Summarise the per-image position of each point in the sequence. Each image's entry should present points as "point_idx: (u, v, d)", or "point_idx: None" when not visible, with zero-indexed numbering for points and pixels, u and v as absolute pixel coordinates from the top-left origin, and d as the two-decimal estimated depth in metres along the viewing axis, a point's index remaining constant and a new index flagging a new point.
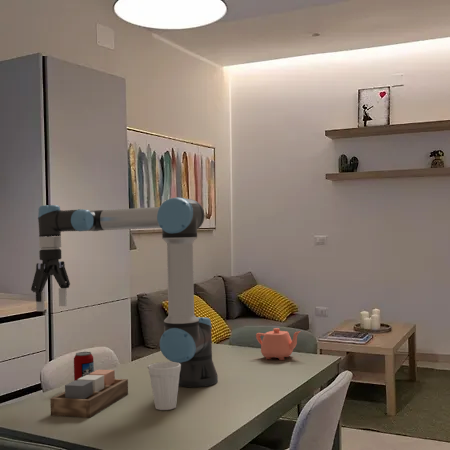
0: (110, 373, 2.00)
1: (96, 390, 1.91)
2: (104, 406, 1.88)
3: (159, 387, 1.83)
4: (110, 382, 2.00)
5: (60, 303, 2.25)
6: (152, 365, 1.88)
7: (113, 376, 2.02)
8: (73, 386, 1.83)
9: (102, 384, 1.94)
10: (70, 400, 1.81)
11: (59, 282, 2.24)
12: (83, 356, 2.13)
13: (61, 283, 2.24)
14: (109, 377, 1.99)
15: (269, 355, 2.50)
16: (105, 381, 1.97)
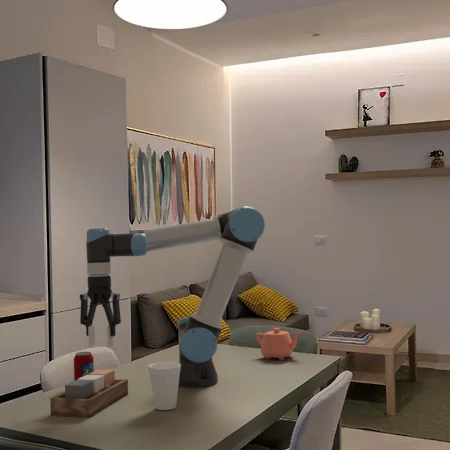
0: (110, 373, 2.00)
1: (96, 390, 1.91)
2: (104, 406, 1.88)
3: (159, 387, 1.83)
4: (110, 382, 2.00)
5: None
6: (152, 365, 1.88)
7: (113, 376, 2.02)
8: (73, 386, 1.83)
9: (102, 384, 1.94)
10: (70, 400, 1.81)
11: None
12: (83, 356, 2.13)
13: None
14: (109, 377, 1.99)
15: (269, 355, 2.50)
16: (105, 381, 1.97)
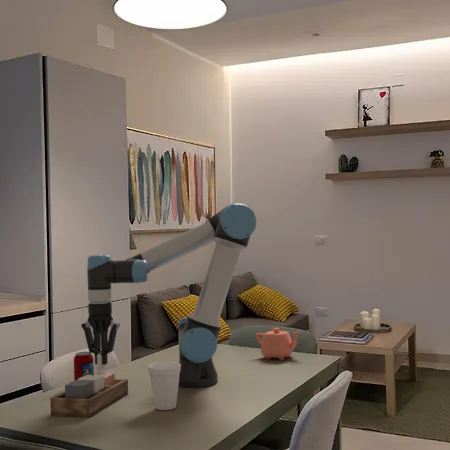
0: (110, 376, 2.00)
1: (96, 390, 1.91)
2: (104, 406, 1.88)
3: (159, 387, 1.83)
4: (110, 385, 2.00)
5: None
6: (152, 365, 1.88)
7: (113, 379, 2.02)
8: (73, 386, 1.83)
9: (102, 384, 1.94)
10: (70, 400, 1.81)
11: None
12: (83, 356, 2.13)
13: None
14: (109, 381, 1.99)
15: (269, 355, 2.50)
16: (105, 384, 1.97)
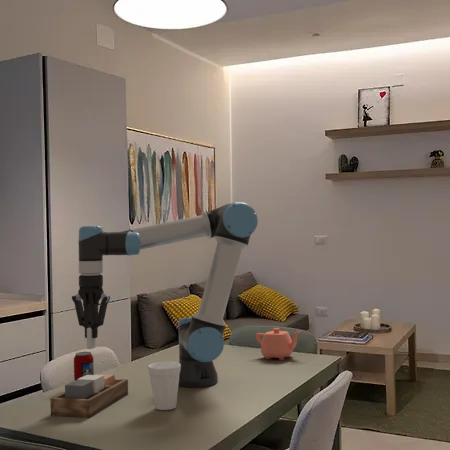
0: (110, 378, 2.00)
1: (96, 390, 1.91)
2: (104, 406, 1.88)
3: (159, 387, 1.83)
4: None
5: None
6: (152, 365, 1.88)
7: (113, 381, 2.02)
8: (73, 386, 1.83)
9: (102, 384, 1.94)
10: (70, 400, 1.81)
11: None
12: (83, 356, 2.13)
13: None
14: (109, 382, 1.99)
15: (269, 355, 2.50)
16: None
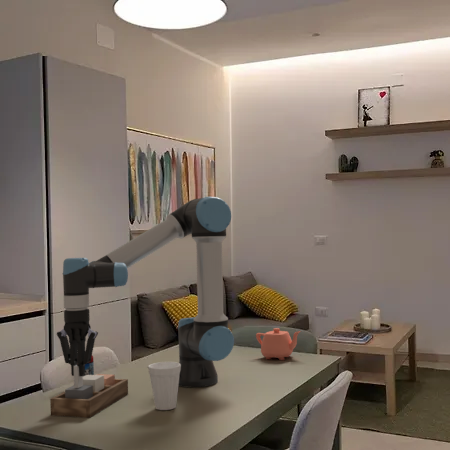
0: (110, 378, 2.00)
1: (96, 390, 1.91)
2: (104, 406, 1.88)
3: (159, 387, 1.83)
4: None
5: None
6: (152, 365, 1.88)
7: (113, 381, 2.02)
8: (73, 390, 1.83)
9: (102, 384, 1.94)
10: (70, 400, 1.81)
11: None
12: None
13: None
14: (109, 382, 1.99)
15: (269, 355, 2.50)
16: None
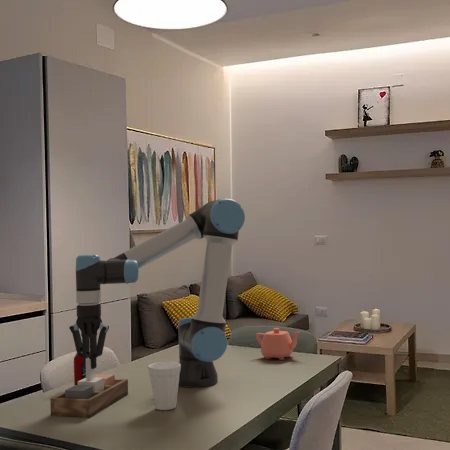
0: (110, 378, 2.00)
1: None
2: (104, 406, 1.88)
3: (159, 387, 1.83)
4: None
5: None
6: (152, 365, 1.88)
7: (113, 381, 2.02)
8: (73, 391, 1.83)
9: (102, 386, 1.94)
10: (70, 400, 1.81)
11: None
12: None
13: None
14: (109, 382, 1.99)
15: (269, 355, 2.50)
16: None
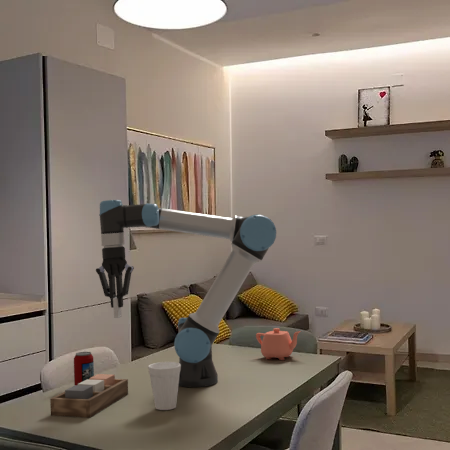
0: (110, 378, 2.00)
1: None
2: (104, 406, 1.88)
3: (159, 387, 1.83)
4: None
5: None
6: (152, 365, 1.88)
7: (113, 381, 2.02)
8: (73, 391, 1.83)
9: (102, 389, 1.94)
10: (70, 400, 1.81)
11: None
12: (83, 356, 2.13)
13: None
14: (109, 382, 1.99)
15: (269, 355, 2.50)
16: None
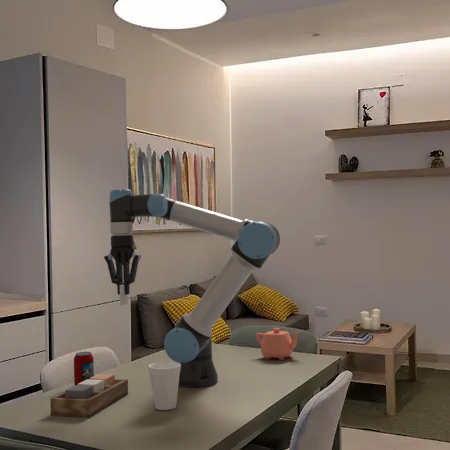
0: (110, 378, 2.00)
1: None
2: (104, 406, 1.88)
3: (159, 387, 1.83)
4: None
5: None
6: (152, 365, 1.88)
7: (113, 381, 2.02)
8: (73, 391, 1.83)
9: (102, 389, 1.94)
10: (70, 400, 1.81)
11: None
12: (83, 356, 2.13)
13: None
14: (109, 382, 1.99)
15: (269, 355, 2.50)
16: None
